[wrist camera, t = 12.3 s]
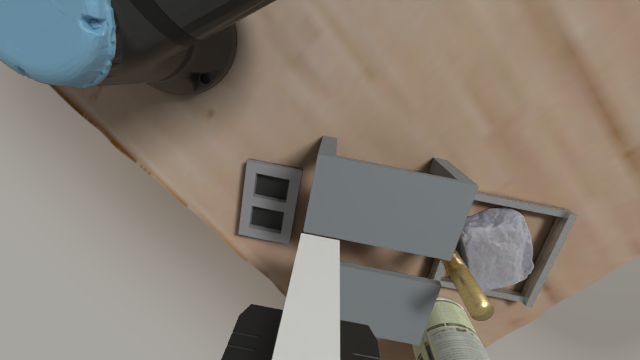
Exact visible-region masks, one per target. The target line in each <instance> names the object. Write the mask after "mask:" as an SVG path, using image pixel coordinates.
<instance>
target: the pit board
mask: <svg viewBox="0 0 640 360" xmlns="http://www.w3.org/2000/svg"><path fill="white" fill-rule="evenodd" d="M302 171H303V169H299V168H294V167H289V166H284V165H279V164H274V163H269V162H264V161H259V160H254V159H249V160H248V161H247V165H246V173H245V182H244V190H243V199H242V207H241V216H240V224H239V233H238V234H239V235H244V236H249V237H254V238H259V239H264V240H269V241H274V242H279V243H284V244H289V242H290V238H291V232H292V227H293V221H294V216H295V210H296V204H297V199H298V193H299V188H300V182H301V177H302Z"/></svg>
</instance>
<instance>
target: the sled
mask: <svg viewBox="0 0 640 360" xmlns="http://www.w3.org/2000/svg"><path fill="white" fill-rule="evenodd" d="M474 200H477V201H482V202H487V203H492V204H497V205H502V206H507V207H512V208H517V209H523V210H528V211H533V212H538V213H543V214H548V215H553V216H557V218H556V220H555V222H554V224H553V226H552V228H551V230H550V233H549V235H548V237H547V239H546V241H545V243H544V245H543V247H542V249H541V251H540V254H539V256H538V258H537V260H536V262H535V264H534V268H533V270H532V272H531V274H530V275H529V277H528V279H527V281H526V283H525V285H524V287H523V289H522V291H521V292H517V291H512V290H507V289H501V288H497V289H493V290H488V291H485V292H483V291H482V289H481V288H480V286H479V285H478V283H477V281H476V280H475V278H474V277H473V275H472V274H471V272H470V271H469V269H468V268H467V266H466V265H465V263H464V262H463V260H462V259H461V257H460V256H459V254H458V252H457V251H456V249H455V251H454V254H453V256H452V259H451V261H448V260H443V259H438V258H435V259H434V262H433V265H432V267H431V270H430V273H429V276H428V279H433V280H438V281H439V282H440V284H441V286H442V287H447V288H452V289H457V291H458V293H459V295H460V297H461V299H462V300H463V302H464V304H465V306H466V308H467V310H468V312H469V313H470V315H471V317H472V318H473V319H475V320H478V321H484V320H487V319H489V318H490V317H491V316H492V315H493V313H494V308H493V306H492V304H491V303H490V301H489V300H488V298H487V297H486V295H487V296H492V297H497V298H502V299H507V300H513V301H518V302H523V304H524V305H525V306H528V307H532V306H533V304H534V302H535V300H536V298H537V296H538V294H539V292H540V290H541V288H542V286H543V284H544V282H545V280H546V278H547V276H548V274H549V272H550V270H551V268H552V266H553V264H554V262H555V260H556V258H557V256H558V254H559V252H560V250H561V248H562V246H563V244H564V242H565V240H566V238H567V236H568V234H569V232H570V230H571V228H572V226H573V224H574V222H575V220H576V218H577V216H578V215H577V214H575V213H573V212H572V211H570V210H568V209H564V208H559V207H554V206H549V205H544V204H539V203H534V202H529V201H523V200H518V199H513V198H508V197H503V196H498V195H493V194H488V193H483V192H478V191H477V192H476V195H475V198H474ZM444 268H445V269H446V271H447V273H448V274H449V276H450V278H446V277H441V276H442V273H443V271H444Z"/></svg>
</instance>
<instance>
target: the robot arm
mask: <svg viewBox="0 0 640 360" xmlns="http://www.w3.org/2000/svg"><path fill="white" fill-rule="evenodd" d="M274 1H276V0H0V60H1V61H2V62H3V63H4V64H6V65H7V66H8V67H10V68H11V69H13V70H14V71H16V72H18V73H19V74H21V75H23V76H27V77H28V78H31V79H34V80H35V81H37V82H41V83H44V84H49V85H59V86H70V87H76V88H88V87H90V86H99V85H116V84H133V83H146V84H148V85H150V86H152V87H154V88H156V89H158V90H160V91H163V92H167V93H171V94H178V95H186V94H194V93H200V92H203V91H206V90H208V89H210V88H212V87H214V86H215V85H216V84H218V83H219V82H220V81H221V80H222V79H223V78H224V77H225V75H226V74H227V73H228V71H229V69H230V67H231V65H232V63H233V60H234V57H235V53H236V47H237V32H236V26H235V22H237V21H239V20H241V19H243V18H245V17H246V16H248V15H250V14H252V13H254V12H256V11H257V10H259V9H261V8H263V7H265V6H266V5H268V4H270V3H272V2H274ZM221 360H379V350H378V343H377V339H376V338H375V336H374V334H373V332H372V331H371V329H370V327H369V326H368V325H365V324H360V323H354V322H349V321H344V320H340V240H335V239H330V238H324V237H319V236H314V235H309V234H304V233H301V236H300V241H299V245H298V249H297V254H296V258H295V262H294V266H293V271H292V275H291V279H290V284H289V288H288V292H287V297H286V301H285V305H284V310H280V309H274V308H268V307H264V306H258V305H253V304H251V305H250V306H249V307H248V308H247V309H246V310H245V311H244V312H243V313H241V314H240V315H239V317H238V320H237V323H236V325H235V328H234V330H233V333H232V335H231V337H230V340H229V342H228V345H227V347H226V349H225V352H224V354H223V357H222V359H221Z"/></svg>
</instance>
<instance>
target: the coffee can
mask: <svg viewBox="0 0 640 360" xmlns="http://www.w3.org/2000/svg"><path fill="white" fill-rule="evenodd" d="M412 347H413V351H414V355H415V358H416V360H490V358H489V356H488V354H487V352H486V350H485V348H484V346H483V345H482V343H481V341H480V339H479V337H478V335H477V333H476V331H475V330H474V328H473V326H472V324H471V322H470V320H469V318H468V317H467V314H466V312H465V310H464V308H463V307H462V306H461V305H460V304H458V303H457V302H455V301H454V300H451V299H448V298H443V297H437V299H436V302H435V304H434V307H433V310H432V312H431V315H430V318H429V320H428V323H427V326H426V328H425V331H424V334H423V336H422V339H421V342H420V344H419V346H418V345H413V344H412Z"/></svg>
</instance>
